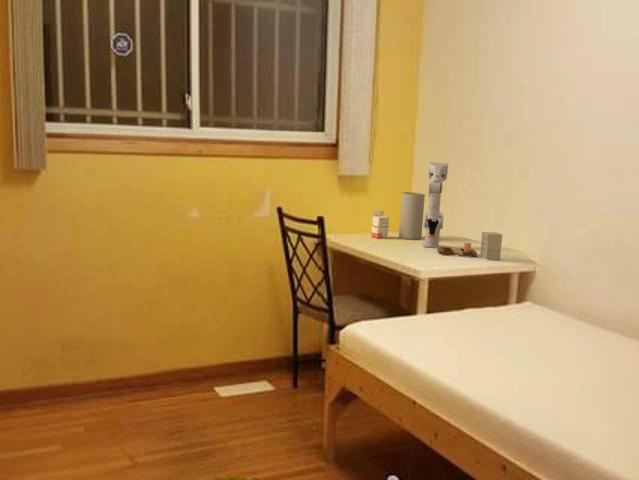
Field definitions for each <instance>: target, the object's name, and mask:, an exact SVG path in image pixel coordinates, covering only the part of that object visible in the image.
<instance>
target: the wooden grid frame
mask: <svg viewBox="0 0 639 480" xmlns="http://www.w3.org/2000/svg"><path fill="white" fill-rule="evenodd" d="M436 249H437V251H436V252H437V253H438V255H439V254H442V255H441V256H449V255H458V256H457V257H463V256H472V257H471V258H478V252H477V251H476V250H475V249H474V248H471V251H470V253H468V252H464V248H461V247H459V248H458V247H446V246H440V247H438V248H436Z"/></svg>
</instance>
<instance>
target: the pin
mask: <svg viewBox="0 0 639 480" xmlns="http://www.w3.org/2000/svg"><path fill="white" fill-rule="evenodd" d="M463 246H464V247H463V249H464V252H468V253H470V251H471V249H472V243H470V242H465V243H464V245H463Z"/></svg>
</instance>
